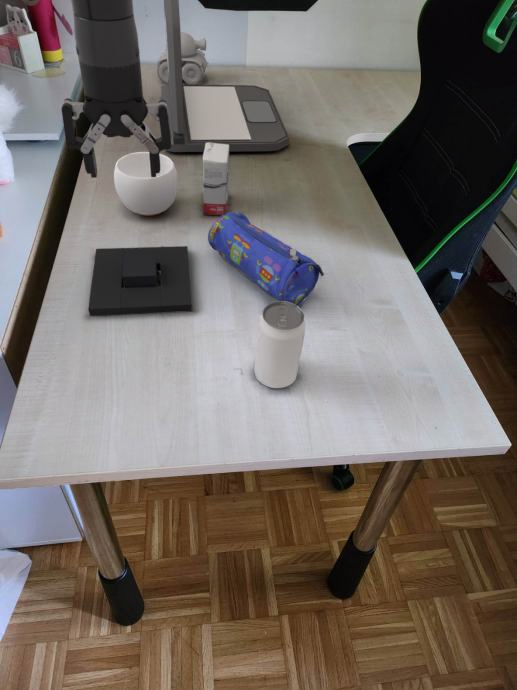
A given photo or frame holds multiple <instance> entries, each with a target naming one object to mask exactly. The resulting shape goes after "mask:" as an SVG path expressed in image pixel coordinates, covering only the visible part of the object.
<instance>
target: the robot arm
mask: <svg viewBox="0 0 517 690" xmlns="http://www.w3.org/2000/svg"><path fill="white" fill-rule="evenodd" d="M70 1H71V2H70V3H71V9H72V12H73V13H72V14H73V30H74V32H73V33H74V40H75V51H76V55H77V58H78V64H79V69H80V76H81V81H82V88H83V94H84V101H83V102H80V101H73V100H72V99H71V98H68V97H66V98H65V99H64V100H63V102H62V106H61V117H62V123H63V131H64V139H65V144H66V145H65V146H66V148H67V149H68V150H77V151H79V152H80V153H81V155H82V159H83V164H84V169H85V172H86V174H88V175H90V177H91V179H97V178H98V166H97V159H96V154H95V148H94V146H95V145H96V144H97V142H98V140H99V139H100V138H101V136H102V135H104V136H106V137H107V138H116V137H122V138H131V136H133V135H134V136H135V138H136V139H137V140H138V141H139V142H140V143H141V144H143V145H144V147H146V149H148V152H149V157H150V168H151V177H156V173H160V155H159V154H161V152H162V151H165V149H166V150H168V149H170V148H171V134H170V125H169V117H168V108H167V102H166V101H165V100H162V99H160V100H159V101H158V102H153V103H150V102H149V103H147V102H146V100H145V97H144V91H143V90H144V89H143V80H142V68H141V58H140V57H141V56H140V53H141V51H140V46H139V35H138V30H137V25H136V20H135V15H134V14H135V13H134V4H133V3H134V2H133V0H70ZM81 113H83V115H85V116H86V118H87V119H88V120H89V121H90V122H91V125H90V126H89V129H88V131H87V132H86V134H85V135H84V137H80V136H78V132H77V124H76V123H77V122H76V121H77V120H79V119H80V116H81V115H80V114H81ZM148 114H150V115H151V116H152V118H153V120H154V121H155V122H159V128H160V135H161V136H160V137H155V135H154V134H153V133H152V131H151V130H150V128H149V126H148V125H147V124H146V123H145V122H144V121H145V119H146V118H147V116H148Z"/></svg>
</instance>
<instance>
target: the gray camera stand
mask: <svg viewBox="0 0 517 690" xmlns="http://www.w3.org/2000/svg"><path fill="white" fill-rule="evenodd" d="M163 13H164V27H165V28H164V30H165V45H166V46H165V47H166V48H165V49H167V65H168V84H165V85H163V86H161V87H160V94H161V95H160V96H161V100H165V101H166V102H167V108H168V117H169V125H170V134H171V148H170V149H168V150H166V149H164V151H165V152H172V153H204V150H205V144H206V143H218V144H229V152H274V151H280V150H282V149H284V148H285V147H287V146H289V144H290V135H289V133H288V131H287V128H286V127H285V124H284V122H283V120H282V117H281V115H280V113H279V110H278V108H277V105H276V103H275V102H274V99H273V97H272V95H271V92H270V89H267V88H263V87H261V86H258V85H254V84H253V85H251V84H250V85H249V84H248V85H247V84H199V85H183V83H184V82H183V78H182V59H181V34H180V32H181V18H180V17H181V16H180V1H179V0H163Z"/></svg>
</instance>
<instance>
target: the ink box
mask: <svg viewBox="0 0 517 690" xmlns="http://www.w3.org/2000/svg"><path fill="white" fill-rule="evenodd" d="M229 178H230V151H229V144H218V143H206V144H205V150H204V152H203V155H202V190H203V191H202V192H203V193H202V194H203V196H202V197H203V201H202V203H203V205H202V206H203V207H202V208H203V215H209V216H222V215H225V214H227V208H228V202H229V201H228V200H229V182H230V181H229V180H230V179H229Z"/></svg>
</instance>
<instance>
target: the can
mask: <svg viewBox="0 0 517 690" xmlns="http://www.w3.org/2000/svg"><path fill="white" fill-rule="evenodd" d="M306 325H307V324H306V320H305V313H304V310H303V309H302V308H301V307H299V306H297V305H295V304H293V303H291V302H287V301H279V300H277V301H276V300H275V301H272V302H270V303H267V305H265V307H264V308H263V310H262V313H261V315H260V316H259V319H258V325H257V335H256V345H255V346H256V347H255V357H254V368H253V372H254V376H255V378H256V379H257V381H258V382H259V383H261V384H262V385H263V386H265V387H268V388H269V389H283V388H287V387H289V386H291V385H292V384H293V383H294V382H295V381H296V379H297V376H298V372H299V368H300V361H301V355H302V350H303V345H304V340H305V333H306Z"/></svg>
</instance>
